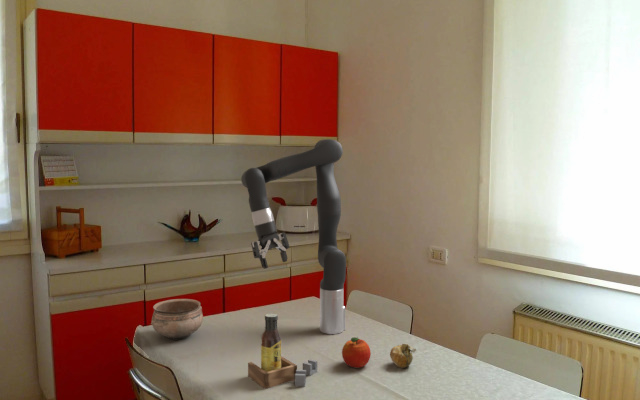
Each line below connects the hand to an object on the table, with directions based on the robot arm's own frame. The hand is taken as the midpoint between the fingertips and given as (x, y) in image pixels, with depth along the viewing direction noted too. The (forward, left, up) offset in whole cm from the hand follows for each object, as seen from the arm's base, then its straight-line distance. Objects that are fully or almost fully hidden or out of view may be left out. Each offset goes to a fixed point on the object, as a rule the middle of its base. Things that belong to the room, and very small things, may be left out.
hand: (275, 264), depth 196 cm
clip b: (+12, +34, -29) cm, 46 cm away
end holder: (+17, +25, -29) cm, 42 cm away
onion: (-23, +42, -30) cm, 56 cm away
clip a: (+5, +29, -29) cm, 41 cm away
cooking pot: (+27, -28, -30) cm, 49 cm away
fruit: (-11, +33, -30) cm, 46 cm away
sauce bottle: (+17, +24, -30) cm, 42 cm away
